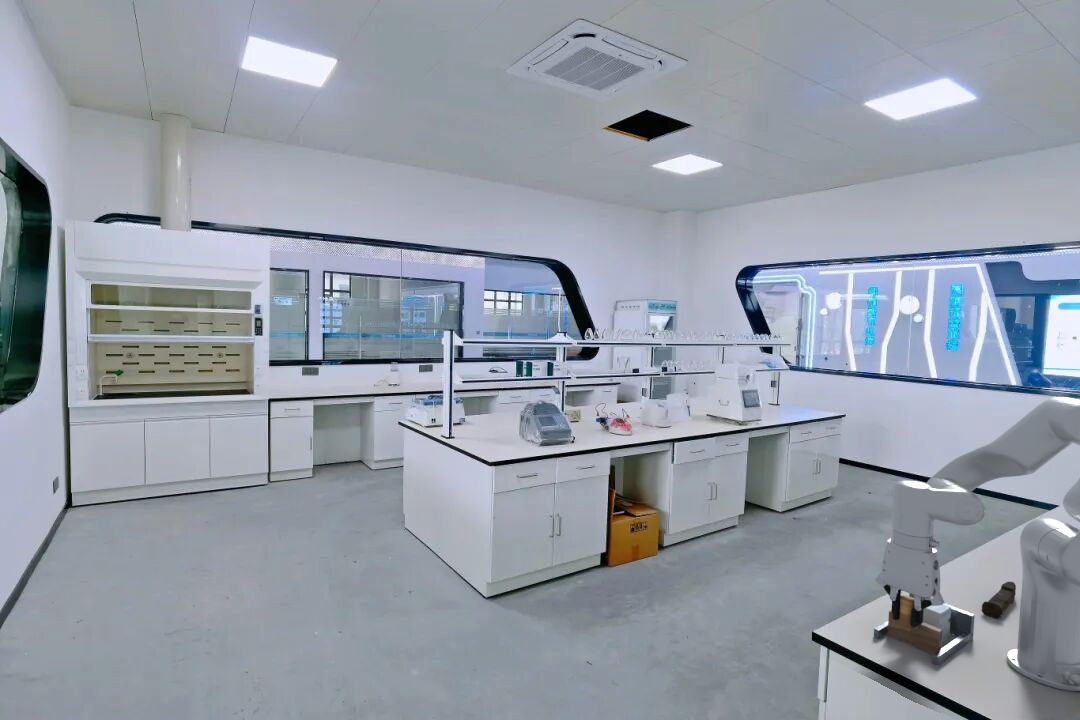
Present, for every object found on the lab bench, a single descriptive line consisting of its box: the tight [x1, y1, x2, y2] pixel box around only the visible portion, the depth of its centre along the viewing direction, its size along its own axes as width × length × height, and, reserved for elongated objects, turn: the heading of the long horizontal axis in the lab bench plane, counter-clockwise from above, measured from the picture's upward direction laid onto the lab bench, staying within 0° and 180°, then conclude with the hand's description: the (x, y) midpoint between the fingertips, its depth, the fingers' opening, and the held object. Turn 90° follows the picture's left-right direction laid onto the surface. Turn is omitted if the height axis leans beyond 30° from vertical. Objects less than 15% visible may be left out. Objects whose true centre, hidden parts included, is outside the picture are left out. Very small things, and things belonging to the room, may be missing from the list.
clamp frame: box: [873, 593, 976, 667], centre depth 125 cm, size 18×13×6 cm
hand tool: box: [981, 581, 1017, 620], centre depth 140 cm, size 19×4×5 cm, turn 125°
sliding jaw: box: [887, 595, 942, 655], centre depth 121 cm, size 6×10×12 cm, turn 33°
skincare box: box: [923, 599, 951, 642], centre depth 126 cm, size 6×6×7 cm
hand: (906, 620), depth 120 cm, fingers closed on sliding jaw, 2 cm apart
